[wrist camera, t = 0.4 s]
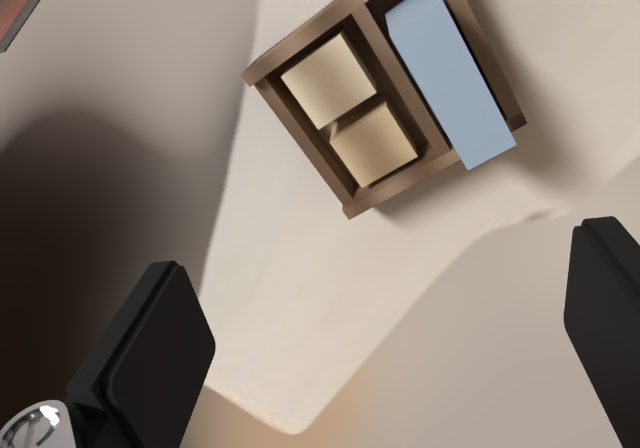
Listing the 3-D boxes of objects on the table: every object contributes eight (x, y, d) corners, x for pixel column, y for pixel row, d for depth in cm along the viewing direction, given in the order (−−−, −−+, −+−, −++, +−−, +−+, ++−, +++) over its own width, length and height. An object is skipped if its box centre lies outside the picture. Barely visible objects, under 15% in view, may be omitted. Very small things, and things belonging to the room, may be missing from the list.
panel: (421, -17, 32) (442, 0, 23) (477, 91, 36) (516, 144, 26) (383, 9, 33) (390, 36, 24) (442, 112, 37) (467, 170, 28)
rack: (424, -68, 32) (433, -69, 27) (509, 102, 37) (527, 123, 33) (255, 59, 37) (240, 75, 33) (350, 191, 42) (349, 219, 38)
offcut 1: (343, 25, 34) (340, 34, 31) (375, 78, 36) (376, 92, 33) (289, 64, 36) (280, 77, 33) (322, 112, 38) (318, 129, 34)
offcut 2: (385, 93, 36) (386, 106, 34) (413, 139, 38) (417, 156, 35) (332, 126, 38) (329, 142, 35) (362, 169, 40) (361, 188, 37)
